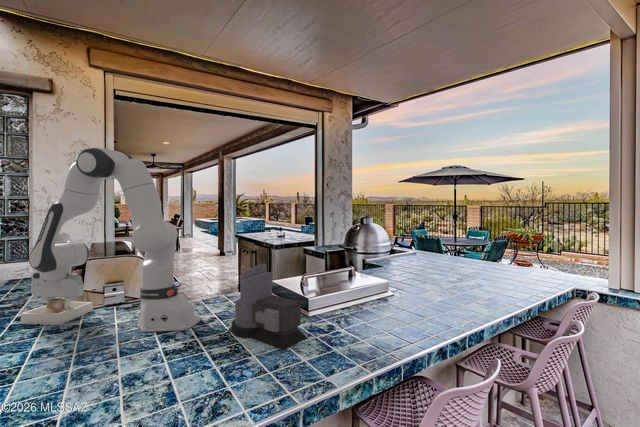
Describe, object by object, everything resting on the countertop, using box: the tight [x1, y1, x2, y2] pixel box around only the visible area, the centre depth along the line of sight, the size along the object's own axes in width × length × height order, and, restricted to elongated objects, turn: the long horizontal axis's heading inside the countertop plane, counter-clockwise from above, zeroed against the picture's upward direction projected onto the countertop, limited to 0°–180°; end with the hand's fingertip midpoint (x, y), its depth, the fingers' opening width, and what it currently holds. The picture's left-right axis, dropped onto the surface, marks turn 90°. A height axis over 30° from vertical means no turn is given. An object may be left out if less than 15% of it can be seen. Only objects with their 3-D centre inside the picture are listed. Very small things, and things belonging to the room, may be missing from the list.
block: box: [45, 297, 69, 314], centre depth 130 cm, size 5×5×5 cm
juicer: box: [227, 263, 308, 351], centre depth 114 cm, size 30×16×24 cm, turn 52°
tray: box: [20, 300, 94, 326], centre depth 131 cm, size 16×16×4 cm
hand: (58, 307), depth 130 cm, fingers closed on block, 5 cm apart
